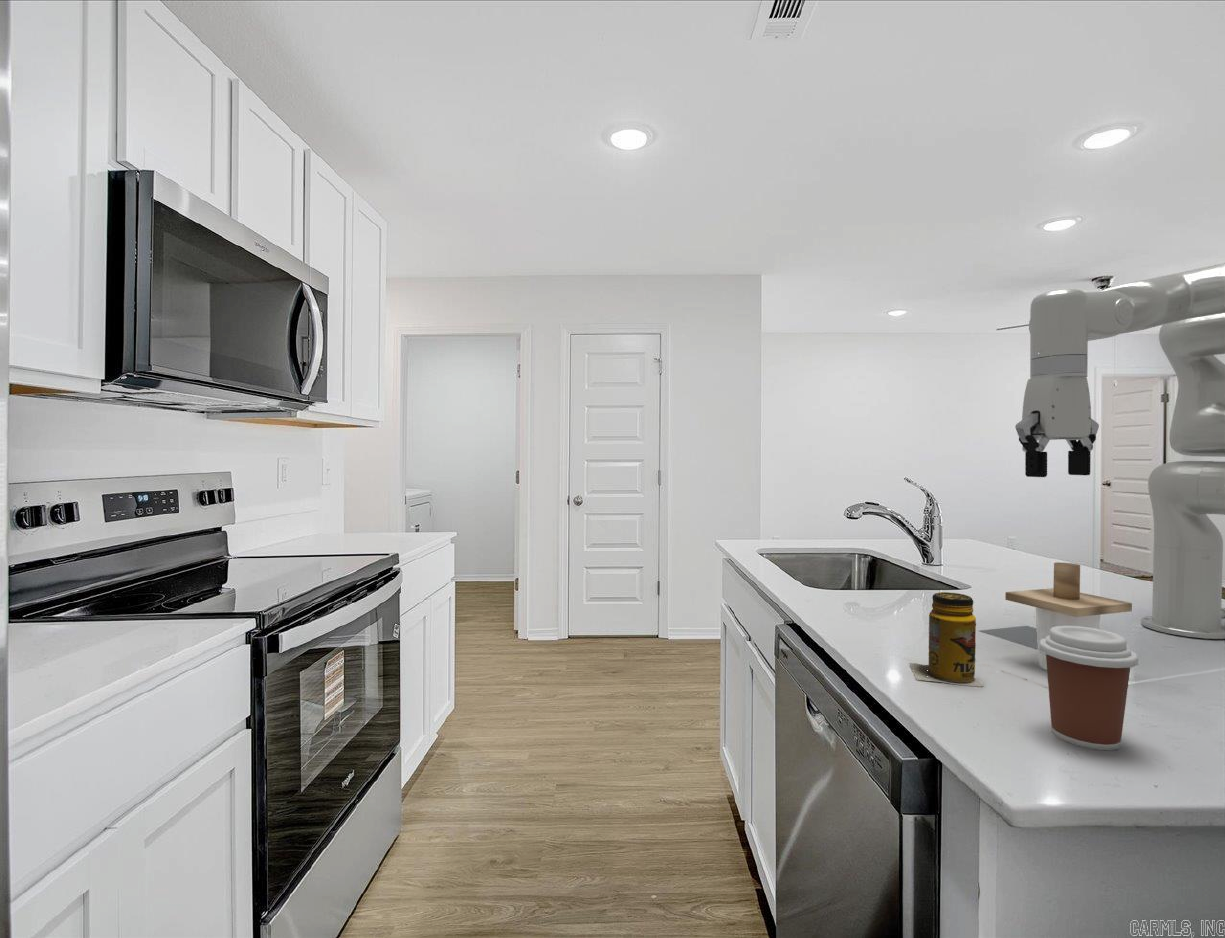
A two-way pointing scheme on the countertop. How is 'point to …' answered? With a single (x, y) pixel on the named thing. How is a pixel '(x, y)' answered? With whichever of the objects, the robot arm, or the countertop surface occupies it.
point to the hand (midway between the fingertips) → (1057, 475)
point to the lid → (1068, 596)
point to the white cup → (1053, 619)
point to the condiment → (950, 641)
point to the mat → (1016, 635)
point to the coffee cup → (1087, 685)
